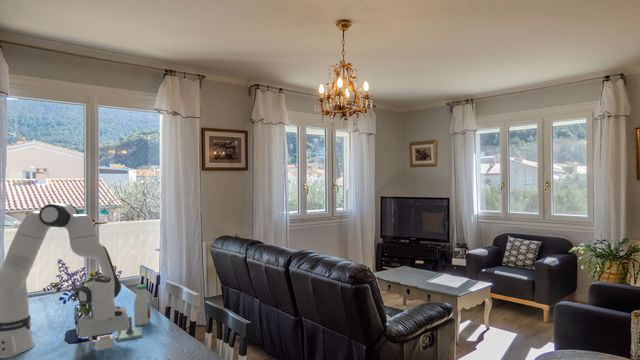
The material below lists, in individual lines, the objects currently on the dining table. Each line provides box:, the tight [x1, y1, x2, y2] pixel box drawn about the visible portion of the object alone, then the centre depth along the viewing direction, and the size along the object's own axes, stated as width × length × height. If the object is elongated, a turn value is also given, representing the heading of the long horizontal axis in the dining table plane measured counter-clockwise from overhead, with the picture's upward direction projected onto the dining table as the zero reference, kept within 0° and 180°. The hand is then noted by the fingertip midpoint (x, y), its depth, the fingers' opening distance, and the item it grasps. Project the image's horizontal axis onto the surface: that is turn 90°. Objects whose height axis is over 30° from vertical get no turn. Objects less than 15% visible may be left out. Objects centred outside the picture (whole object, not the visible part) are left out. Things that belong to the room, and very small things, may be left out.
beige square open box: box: [96, 333, 114, 352], centre depth 182 cm, size 6×6×4 cm
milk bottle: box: [133, 284, 151, 327], centre depth 209 cm, size 8×8×20 cm
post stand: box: [116, 316, 143, 342], centre depth 194 cm, size 11×11×9 cm
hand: (105, 342), depth 182 cm, fingers open, 8 cm apart
